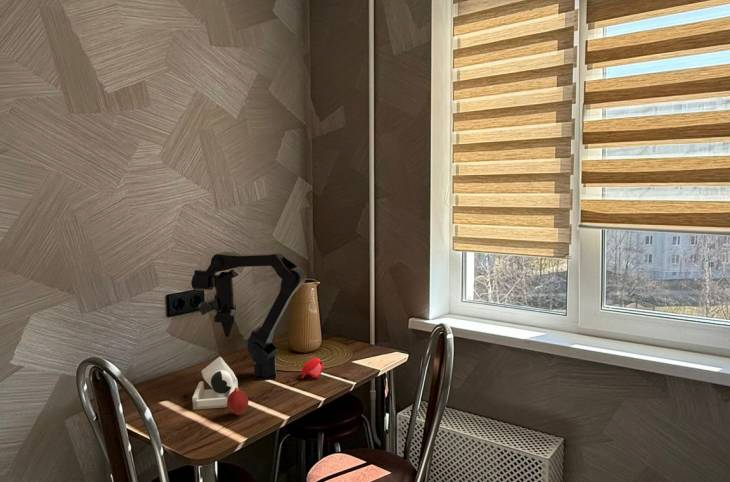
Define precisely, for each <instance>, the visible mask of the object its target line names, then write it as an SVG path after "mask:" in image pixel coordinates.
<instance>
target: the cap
mask: <svg viewBox="0 0 730 482" xmlns="http://www.w3.org/2000/svg"><path fill="white" fill-rule="evenodd" d="M323 370H324V363H323V361H322V360H321V359H320V358H318V357H314V358H311V359H309V360H308V361H307V362H305V364H304V365H303V366H302V369H301V373H302V375H301V379H304V378H305V377H306V375H310V376H311V377H313V378H315V379H317V380H318V379H319V378H320V376H321V374H322V372H323Z"/></svg>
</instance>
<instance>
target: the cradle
mask: <svg viewBox="0 0 730 482" xmlns="http://www.w3.org/2000/svg"><path fill="white" fill-rule="evenodd" d="M204 381H205V380H204ZM204 381H199V382H198V384H197V387H196V388H195V391H194V394H193V395H192V410H195V411H196V410H197V411H198V410H206V409H218V408H219V409H221V408H222V409H223V408H228V407H227V399H228V396H229V395H230V394H231V393H232V392H233V391H234V389H235V388H239V386H238V385H239V382H238V379H237V380H236V381H234V382H233V385H232V387H231V389H230V390H229V391H228V392H226V393H220V394H217V393H216V392H215V391H214V390H213V389H212V388H211V389H205V385H204V384H205V383H204Z"/></svg>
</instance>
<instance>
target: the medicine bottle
mask: <svg viewBox="0 0 730 482" xmlns="http://www.w3.org/2000/svg"><path fill="white" fill-rule="evenodd" d="M201 375H202V378H203V379H204V381H205V382H206V383H207V384H208V385H209V386H210V387H211V389H213V390H214V391H215V392H216V393H217V394H220V393H226V392H228V391H229V390H230V389H231V387H232V385H233V382H234V381H236V380H237V381H238V378H237V377H236V375H235V373H234V371H233V370H232V369H231V367H229V365H228V364H227V363H226V362H225V360H224V359H223V358H222V356H217V358H216V359H214V360H213V361H212V362H211V363H209V364H208V365H207V366H205V368H203V369H202V370H201Z"/></svg>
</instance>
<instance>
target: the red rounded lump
mask: <svg viewBox="0 0 730 482" xmlns="http://www.w3.org/2000/svg"><path fill="white" fill-rule="evenodd" d="M248 406H249V397H248V395H247V394H246V392H245V391H243V390H241V389H240V388H239V387H238V388H235V389H234V391H233V392H232V393H231V394H230V395H229V396H228V399H227V407H226V408H228V410H229V411H230V412H231V413H233V414H234V415H236V416H240V415H242V414H243V413H244V412H245V411H246V410H247V408H248Z"/></svg>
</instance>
